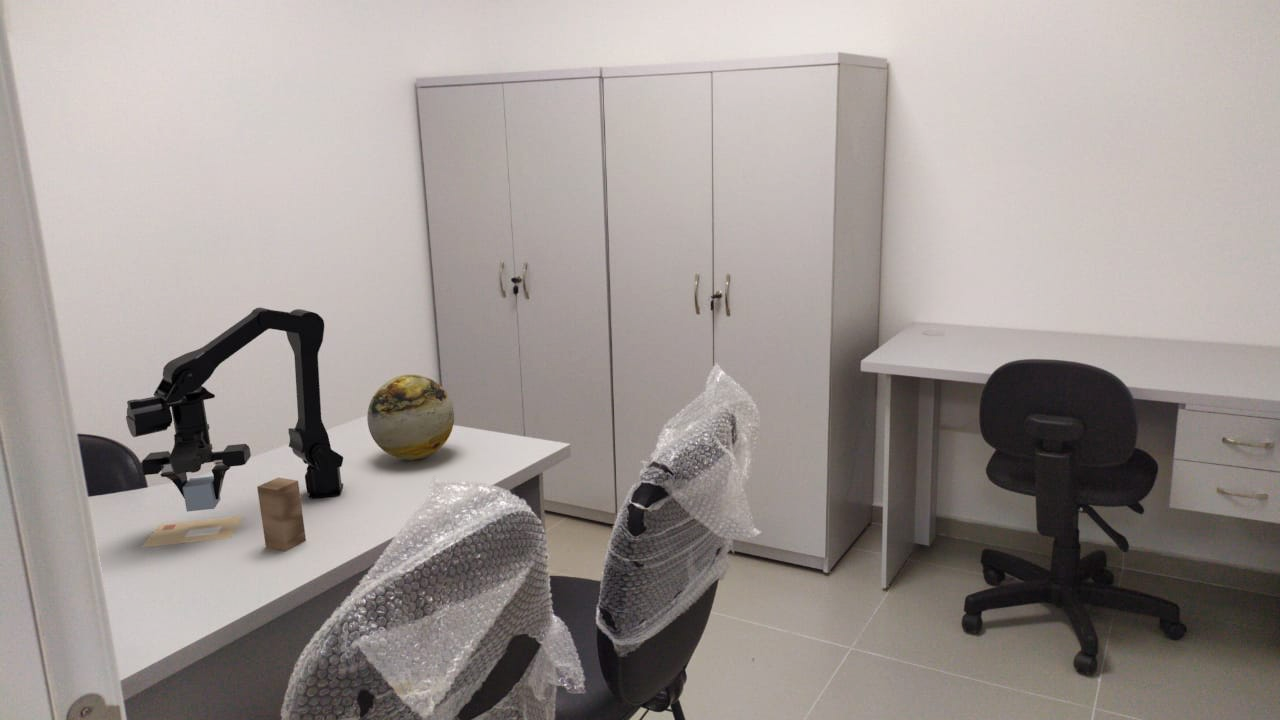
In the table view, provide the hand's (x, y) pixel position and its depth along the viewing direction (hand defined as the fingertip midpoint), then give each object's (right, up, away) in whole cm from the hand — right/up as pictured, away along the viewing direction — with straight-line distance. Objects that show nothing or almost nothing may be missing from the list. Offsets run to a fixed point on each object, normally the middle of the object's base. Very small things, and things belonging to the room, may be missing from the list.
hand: (203, 500), depth 181 cm
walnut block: (+19, -7, -8) cm, 22 cm away
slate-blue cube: (0, -1, 0) cm, 1 cm away
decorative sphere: (+32, +4, +38) cm, 50 cm away
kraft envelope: (-1, -6, -1) cm, 6 cm away
